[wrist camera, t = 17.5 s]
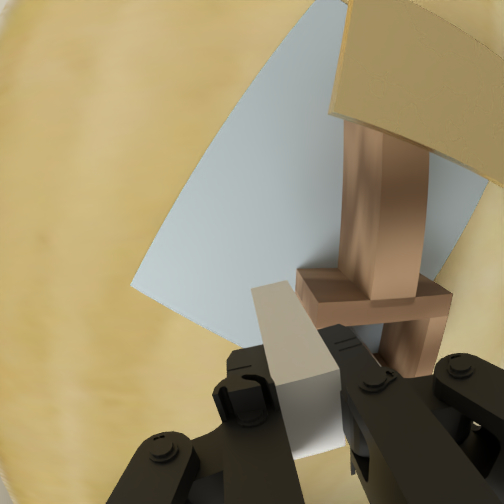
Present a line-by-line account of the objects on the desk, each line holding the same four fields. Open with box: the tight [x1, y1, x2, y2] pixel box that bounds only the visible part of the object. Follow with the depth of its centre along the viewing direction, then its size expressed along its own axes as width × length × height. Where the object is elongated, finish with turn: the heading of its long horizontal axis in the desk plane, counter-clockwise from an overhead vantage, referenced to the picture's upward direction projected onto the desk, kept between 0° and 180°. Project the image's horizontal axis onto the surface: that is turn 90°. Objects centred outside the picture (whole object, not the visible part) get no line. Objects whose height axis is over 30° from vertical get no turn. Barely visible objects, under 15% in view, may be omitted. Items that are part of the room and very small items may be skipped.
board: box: [130, 0, 489, 353], centre depth 22 cm, size 26×20×1 cm
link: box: [295, 120, 453, 378], centre depth 19 cm, size 21×9×6 cm, turn 179°
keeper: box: [327, 0, 504, 188], centre depth 16 cm, size 7×13×10 cm, turn 78°
